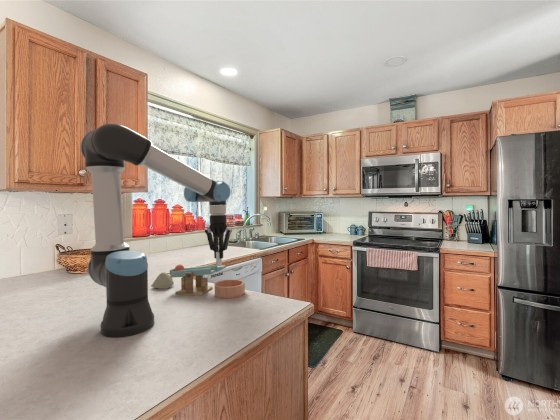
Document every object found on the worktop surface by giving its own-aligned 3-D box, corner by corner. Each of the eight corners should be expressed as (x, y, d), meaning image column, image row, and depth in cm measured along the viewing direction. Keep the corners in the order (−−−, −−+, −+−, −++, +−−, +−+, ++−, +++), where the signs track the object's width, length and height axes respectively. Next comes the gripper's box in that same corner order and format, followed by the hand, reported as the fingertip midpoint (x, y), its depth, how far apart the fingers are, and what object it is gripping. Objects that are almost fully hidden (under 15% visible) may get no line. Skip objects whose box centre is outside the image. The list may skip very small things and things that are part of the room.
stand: (200, 295, 123) (199, 274, 123) (175, 293, 126) (175, 272, 126) (212, 288, 134) (212, 268, 134) (189, 286, 137) (189, 267, 137)
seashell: (177, 282, 137) (162, 276, 132) (166, 296, 137) (151, 291, 132) (174, 272, 143) (160, 266, 139) (164, 286, 144) (149, 280, 139)
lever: (212, 274, 124) (210, 266, 124) (170, 277, 129) (169, 270, 130) (226, 267, 138) (225, 260, 138) (187, 270, 143) (187, 263, 143)
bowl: (237, 299, 118) (237, 288, 118) (209, 297, 121) (209, 286, 121) (248, 290, 130) (248, 280, 130) (222, 288, 134) (222, 278, 134)
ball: (182, 272, 129) (179, 264, 130) (174, 275, 130) (171, 266, 131) (187, 270, 133) (184, 262, 134) (179, 273, 134) (177, 265, 135)
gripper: (234, 214, 136) (235, 264, 137) (209, 214, 139) (210, 263, 140) (227, 214, 129) (228, 267, 129) (201, 214, 132) (202, 266, 133)
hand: (219, 265), depth 135 cm, fingers closed
